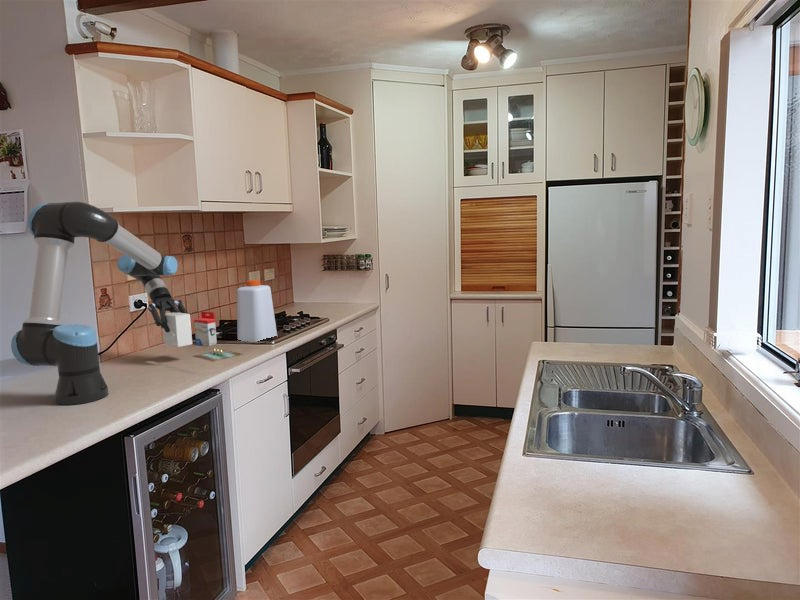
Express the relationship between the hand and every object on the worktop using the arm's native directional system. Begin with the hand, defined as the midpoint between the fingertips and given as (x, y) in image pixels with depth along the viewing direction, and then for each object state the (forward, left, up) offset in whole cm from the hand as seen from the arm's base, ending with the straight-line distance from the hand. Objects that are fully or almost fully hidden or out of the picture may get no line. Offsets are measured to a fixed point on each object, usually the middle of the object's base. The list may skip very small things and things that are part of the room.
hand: (182, 336), depth 230 cm
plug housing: (0, +4, -4) cm, 5 cm away
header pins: (+13, -4, -10) cm, 16 cm away
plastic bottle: (+42, +10, -11) cm, 44 cm away
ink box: (+25, +25, -11) cm, 37 cm away
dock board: (+13, -4, -11) cm, 17 cm away
